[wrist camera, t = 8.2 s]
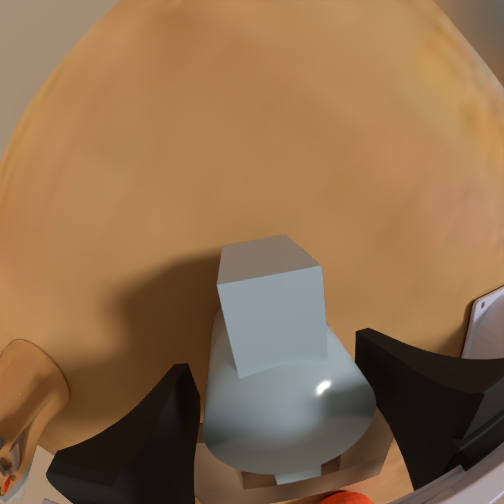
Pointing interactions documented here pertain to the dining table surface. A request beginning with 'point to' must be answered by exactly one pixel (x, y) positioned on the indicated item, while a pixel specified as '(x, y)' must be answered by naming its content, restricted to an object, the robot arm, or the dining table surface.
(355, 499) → the clementine
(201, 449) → the dock
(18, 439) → the beer glass
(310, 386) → the grey tabbed rounded part
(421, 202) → the dining table surface
